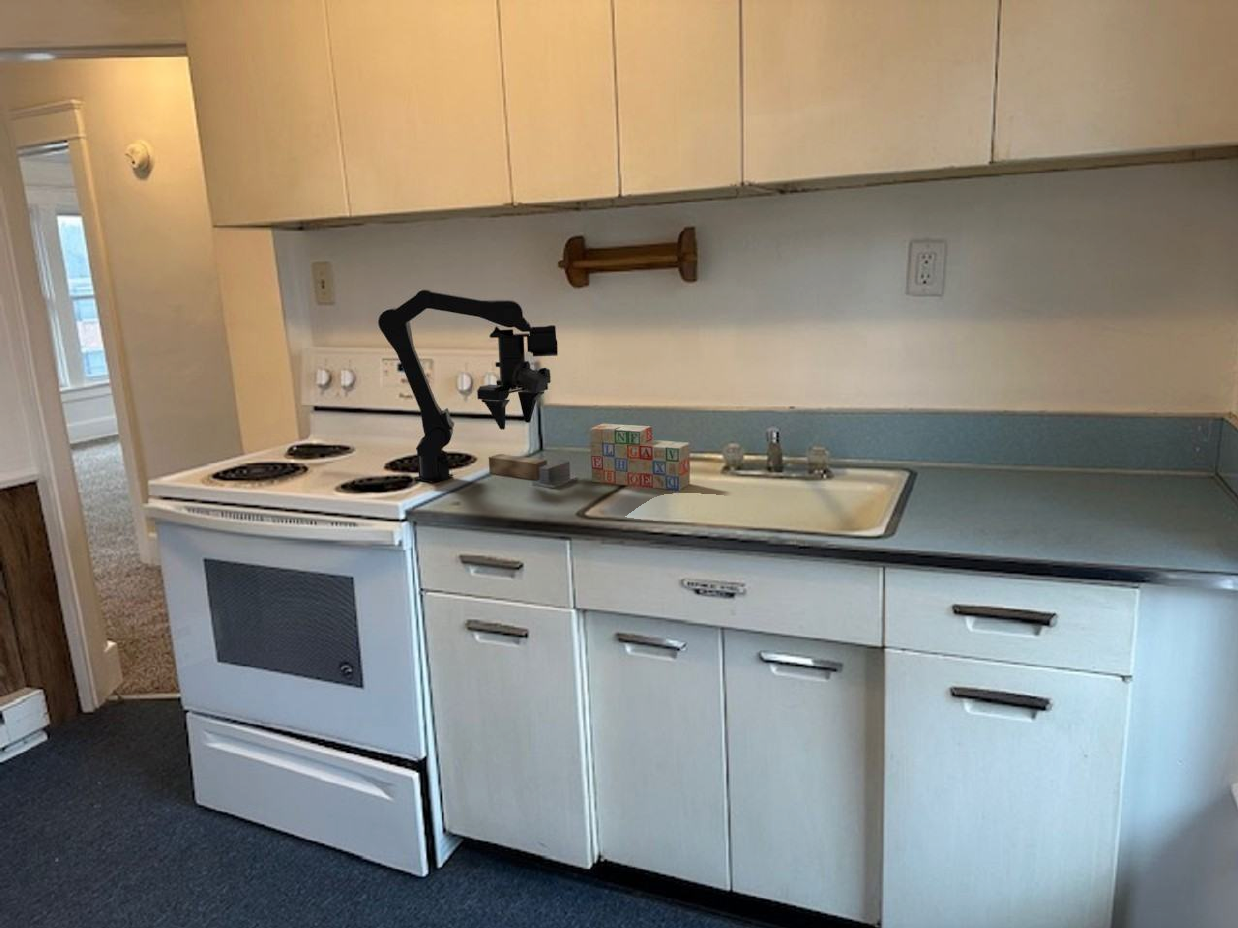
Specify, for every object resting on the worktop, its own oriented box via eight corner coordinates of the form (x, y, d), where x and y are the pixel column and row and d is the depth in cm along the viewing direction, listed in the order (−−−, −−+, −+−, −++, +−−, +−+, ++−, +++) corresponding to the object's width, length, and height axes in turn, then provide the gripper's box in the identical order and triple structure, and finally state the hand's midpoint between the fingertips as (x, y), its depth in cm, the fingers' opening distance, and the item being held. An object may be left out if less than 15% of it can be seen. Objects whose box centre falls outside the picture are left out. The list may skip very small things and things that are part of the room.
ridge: (532, 485, 190) (531, 467, 189) (556, 476, 198) (555, 458, 197) (554, 488, 187) (553, 470, 186) (577, 478, 195) (577, 461, 194)
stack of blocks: (690, 484, 188) (690, 428, 185) (679, 491, 183) (678, 434, 180) (604, 475, 198) (602, 422, 195) (590, 481, 192) (589, 427, 190)
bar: (489, 474, 203) (488, 457, 202) (501, 470, 206) (500, 453, 205) (536, 481, 195) (535, 463, 194) (547, 477, 198) (546, 460, 197)
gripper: (513, 363, 182) (517, 436, 186) (565, 354, 197) (567, 421, 201) (473, 361, 188) (477, 431, 191) (526, 352, 203) (529, 418, 207)
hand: (515, 425), depth 198 cm, fingers open, 9 cm apart
